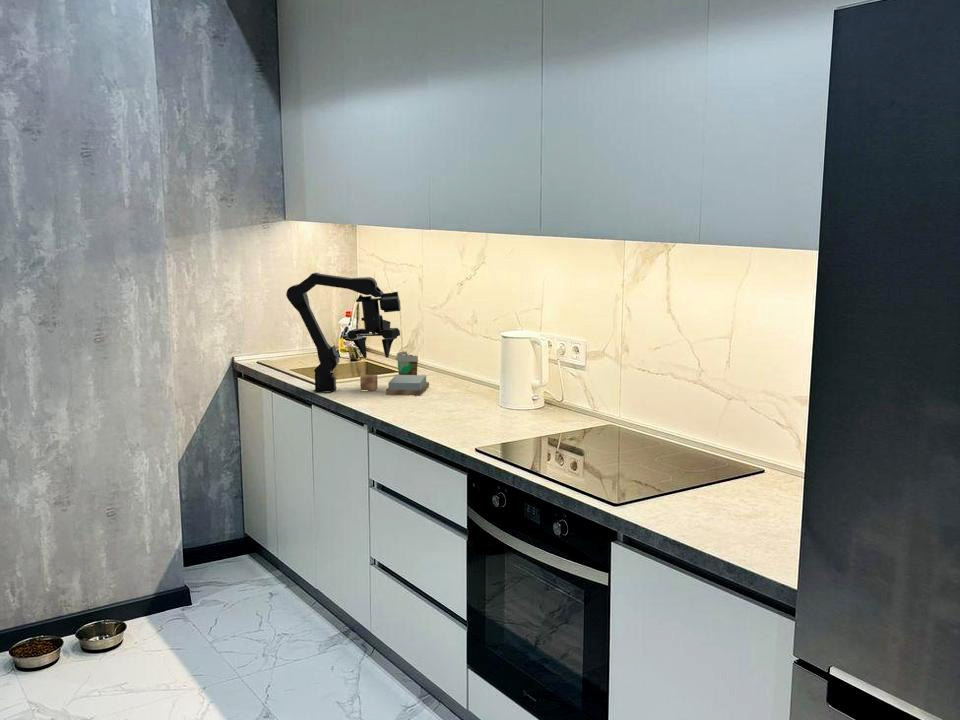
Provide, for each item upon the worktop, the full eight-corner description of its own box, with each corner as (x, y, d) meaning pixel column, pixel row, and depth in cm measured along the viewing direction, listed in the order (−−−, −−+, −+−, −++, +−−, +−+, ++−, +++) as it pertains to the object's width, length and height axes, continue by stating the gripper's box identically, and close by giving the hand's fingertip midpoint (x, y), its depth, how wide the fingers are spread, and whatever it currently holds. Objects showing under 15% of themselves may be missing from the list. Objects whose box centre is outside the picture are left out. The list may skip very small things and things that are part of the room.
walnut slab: (385, 396, 340) (385, 389, 340) (396, 387, 356) (396, 381, 355) (419, 397, 338) (419, 390, 338) (428, 388, 354) (428, 382, 353)
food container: (391, 378, 370) (390, 352, 369) (406, 377, 373) (406, 351, 371) (402, 384, 359) (402, 357, 358) (418, 382, 362) (418, 355, 360)
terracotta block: (360, 391, 346) (360, 377, 346) (363, 388, 351) (363, 374, 350) (374, 391, 346) (374, 377, 345) (377, 388, 351) (377, 375, 350)
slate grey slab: (388, 389, 340) (388, 382, 339) (396, 381, 354) (396, 374, 354) (420, 390, 339) (419, 383, 338) (426, 382, 353) (426, 375, 353)
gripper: (406, 309, 344) (410, 353, 347) (362, 311, 353) (367, 353, 356) (389, 314, 335) (393, 359, 337) (344, 315, 343) (349, 359, 346)
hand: (376, 357), depth 344 cm, fingers open, 9 cm apart
